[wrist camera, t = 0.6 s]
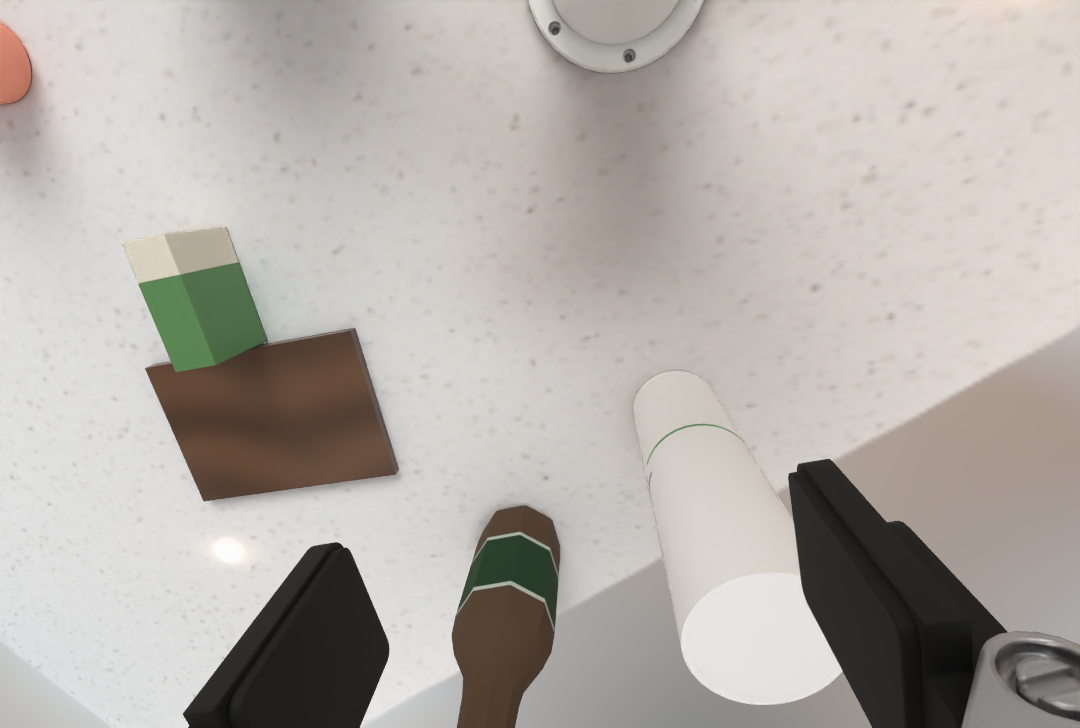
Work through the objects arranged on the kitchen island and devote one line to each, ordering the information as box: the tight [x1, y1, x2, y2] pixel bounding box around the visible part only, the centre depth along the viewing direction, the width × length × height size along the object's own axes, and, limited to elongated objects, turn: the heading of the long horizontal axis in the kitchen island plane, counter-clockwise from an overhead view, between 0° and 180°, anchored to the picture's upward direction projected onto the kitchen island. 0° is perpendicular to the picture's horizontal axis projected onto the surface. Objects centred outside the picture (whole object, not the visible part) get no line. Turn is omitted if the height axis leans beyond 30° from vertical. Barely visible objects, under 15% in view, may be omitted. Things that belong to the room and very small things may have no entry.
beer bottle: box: [452, 505, 560, 728], centre depth 40 cm, size 8×8×24 cm
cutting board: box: [145, 328, 398, 501], centre depth 49 cm, size 14×20×1 cm
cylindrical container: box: [633, 370, 842, 705], centre depth 34 cm, size 7×7×25 cm
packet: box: [122, 227, 267, 372], centre depth 43 cm, size 10×4×7 cm, turn 11°
